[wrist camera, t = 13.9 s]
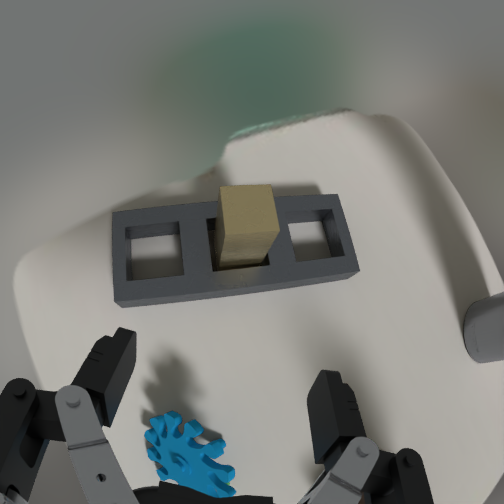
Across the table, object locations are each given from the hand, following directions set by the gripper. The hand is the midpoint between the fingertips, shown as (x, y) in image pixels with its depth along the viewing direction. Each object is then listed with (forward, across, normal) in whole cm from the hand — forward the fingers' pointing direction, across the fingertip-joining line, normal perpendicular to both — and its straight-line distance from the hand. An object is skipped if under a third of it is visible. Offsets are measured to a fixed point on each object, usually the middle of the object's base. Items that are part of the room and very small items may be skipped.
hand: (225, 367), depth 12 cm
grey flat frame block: (+20, 0, +4) cm, 20 cm away
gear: (+5, 0, +19) cm, 20 cm away
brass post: (+20, 0, +4) cm, 20 cm away
